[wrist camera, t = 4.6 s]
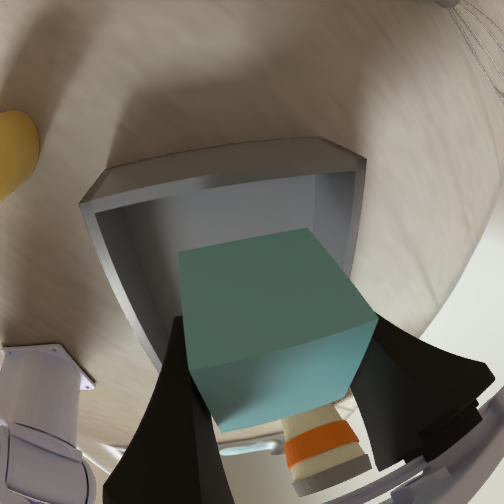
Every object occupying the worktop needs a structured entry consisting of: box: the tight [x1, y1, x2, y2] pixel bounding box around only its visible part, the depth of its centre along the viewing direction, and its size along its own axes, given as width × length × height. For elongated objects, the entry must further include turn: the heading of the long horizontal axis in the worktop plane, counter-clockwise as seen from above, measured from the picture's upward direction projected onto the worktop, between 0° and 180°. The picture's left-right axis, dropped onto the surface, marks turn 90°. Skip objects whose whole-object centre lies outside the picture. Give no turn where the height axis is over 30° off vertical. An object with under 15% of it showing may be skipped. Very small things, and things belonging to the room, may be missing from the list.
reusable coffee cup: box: [281, 403, 372, 497], centre depth 35 cm, size 13×12×15 cm
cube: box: [178, 228, 379, 433], centre depth 10 cm, size 5×5×5 cm
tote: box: [79, 137, 367, 374], centre depth 18 cm, size 17×13×5 cm
